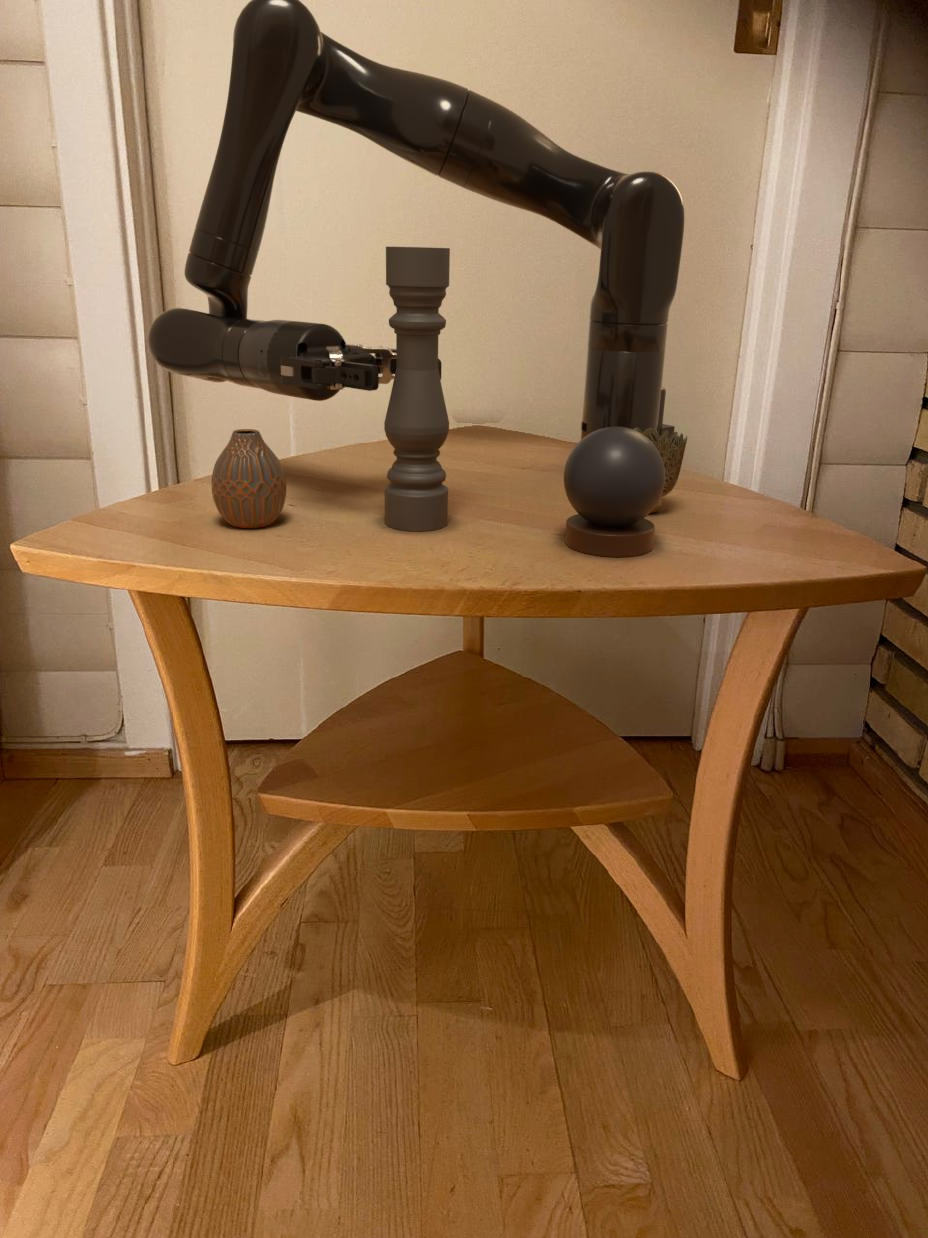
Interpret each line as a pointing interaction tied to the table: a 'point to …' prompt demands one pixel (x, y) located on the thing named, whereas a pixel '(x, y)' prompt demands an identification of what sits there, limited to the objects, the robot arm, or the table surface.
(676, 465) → the spiky textured bowl
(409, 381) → the candle holder
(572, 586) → the table surface
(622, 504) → the ball on stand
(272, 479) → the vase
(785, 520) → the table surface
